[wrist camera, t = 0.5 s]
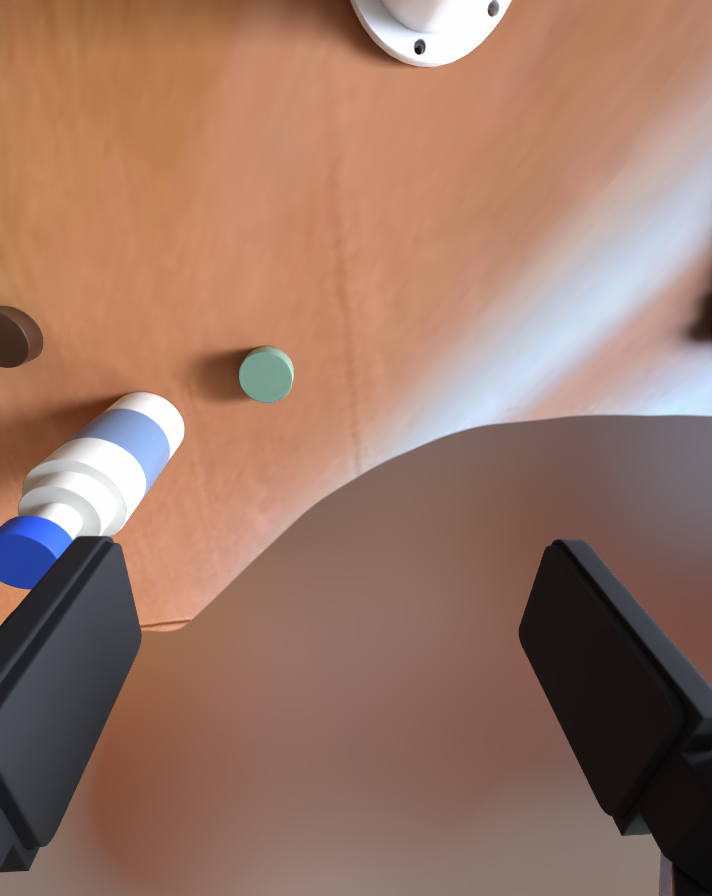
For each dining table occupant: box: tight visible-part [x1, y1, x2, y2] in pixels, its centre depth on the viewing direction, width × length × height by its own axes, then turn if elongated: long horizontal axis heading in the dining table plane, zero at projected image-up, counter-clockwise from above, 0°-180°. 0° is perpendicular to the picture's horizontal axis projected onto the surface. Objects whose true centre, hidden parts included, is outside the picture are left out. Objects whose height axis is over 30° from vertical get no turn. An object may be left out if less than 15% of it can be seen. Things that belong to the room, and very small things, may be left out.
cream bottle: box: [0, 392, 184, 589], centre depth 34 cm, size 7×7×20 cm
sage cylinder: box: [239, 346, 294, 403], centre depth 40 cm, size 5×5×2 cm
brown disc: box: [0, 306, 43, 368], centre depth 37 cm, size 5×5×2 cm
